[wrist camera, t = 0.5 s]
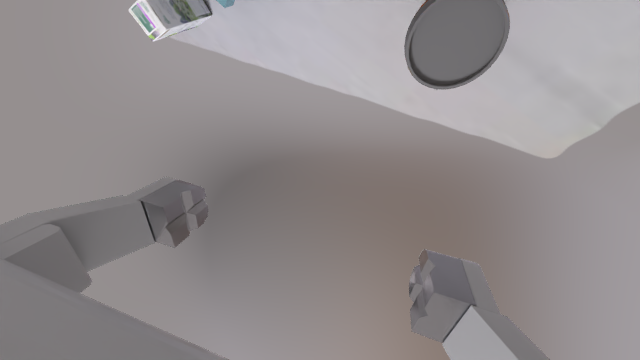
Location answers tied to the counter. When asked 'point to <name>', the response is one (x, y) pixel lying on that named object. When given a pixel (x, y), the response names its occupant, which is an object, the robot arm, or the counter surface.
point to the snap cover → (226, 3)
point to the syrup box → (169, 16)
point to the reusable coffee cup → (455, 40)
